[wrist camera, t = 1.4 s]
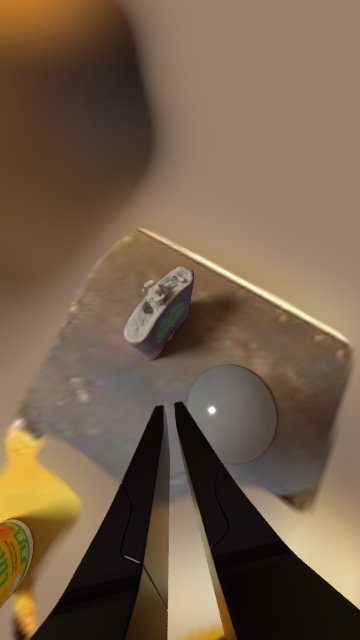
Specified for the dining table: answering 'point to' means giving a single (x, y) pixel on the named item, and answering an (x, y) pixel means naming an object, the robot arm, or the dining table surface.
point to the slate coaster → (233, 412)
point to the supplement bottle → (13, 556)
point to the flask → (160, 312)
